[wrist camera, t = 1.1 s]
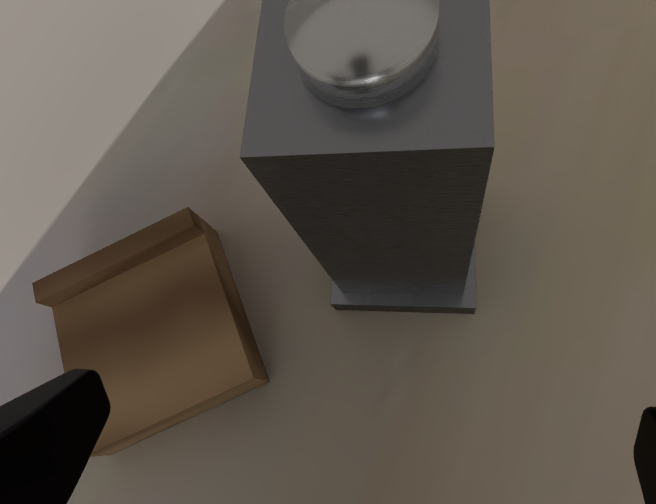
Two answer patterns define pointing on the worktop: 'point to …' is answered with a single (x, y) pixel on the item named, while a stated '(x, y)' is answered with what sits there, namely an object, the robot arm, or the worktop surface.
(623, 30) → the worktop surface
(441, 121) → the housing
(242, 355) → the square wooden tray
